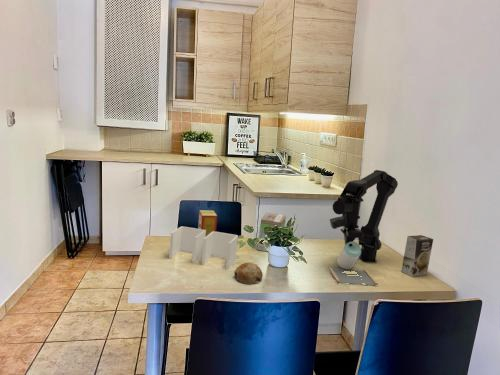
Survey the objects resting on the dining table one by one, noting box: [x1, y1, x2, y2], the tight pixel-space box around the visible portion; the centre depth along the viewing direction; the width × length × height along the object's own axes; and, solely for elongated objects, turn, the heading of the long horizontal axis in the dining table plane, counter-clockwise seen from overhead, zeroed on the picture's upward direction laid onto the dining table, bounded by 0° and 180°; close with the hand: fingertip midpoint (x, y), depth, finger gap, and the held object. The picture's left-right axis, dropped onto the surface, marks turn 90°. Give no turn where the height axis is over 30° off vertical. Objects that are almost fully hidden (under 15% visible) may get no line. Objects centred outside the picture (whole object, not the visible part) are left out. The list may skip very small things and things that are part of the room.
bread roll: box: [233, 262, 264, 285], centre depth 150 cm, size 10×10×8 cm
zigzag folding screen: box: [168, 226, 239, 270], centre depth 165 cm, size 25×11×11 cm, turn 76°
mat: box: [327, 266, 379, 286], centre depth 162 cm, size 16×14×1 cm
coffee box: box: [400, 234, 434, 278], centre depth 171 cm, size 9×6×16 cm
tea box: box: [257, 212, 287, 252], centre depth 188 cm, size 15×10×15 cm
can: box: [336, 241, 362, 270], centre depth 167 cm, size 7×7×12 cm
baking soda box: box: [197, 209, 218, 236], centre depth 181 cm, size 10×6×16 cm
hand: (346, 247), depth 171 cm, fingers closed
